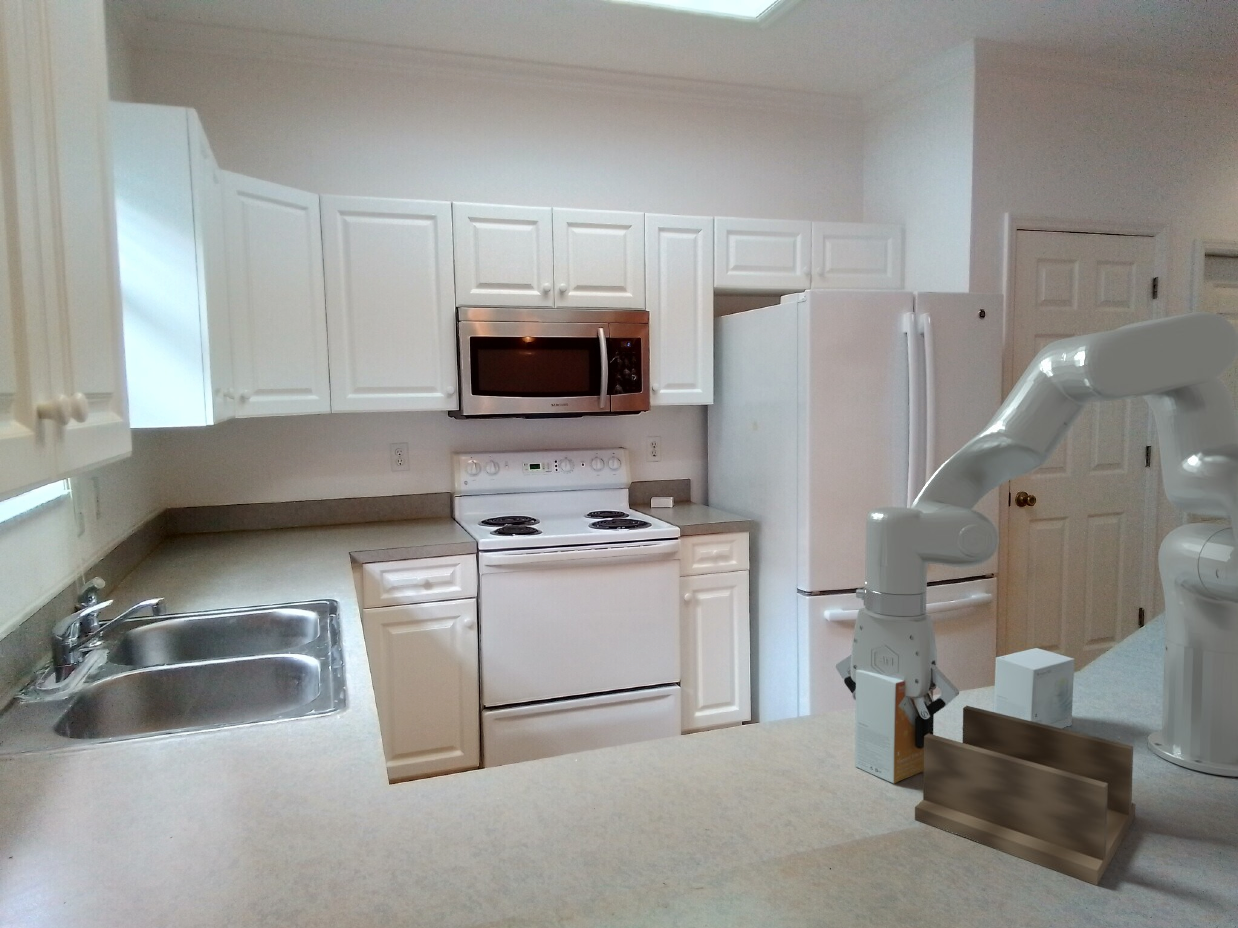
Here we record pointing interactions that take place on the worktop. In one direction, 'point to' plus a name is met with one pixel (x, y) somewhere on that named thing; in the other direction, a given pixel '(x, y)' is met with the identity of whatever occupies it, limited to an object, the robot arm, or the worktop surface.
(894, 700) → the small box
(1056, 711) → the skincare box
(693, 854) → the worktop surface
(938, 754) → the book rack
